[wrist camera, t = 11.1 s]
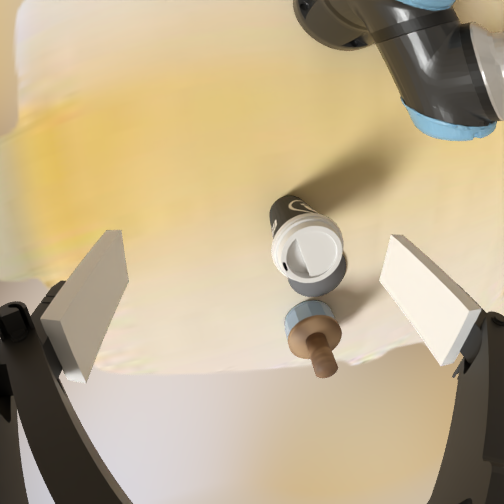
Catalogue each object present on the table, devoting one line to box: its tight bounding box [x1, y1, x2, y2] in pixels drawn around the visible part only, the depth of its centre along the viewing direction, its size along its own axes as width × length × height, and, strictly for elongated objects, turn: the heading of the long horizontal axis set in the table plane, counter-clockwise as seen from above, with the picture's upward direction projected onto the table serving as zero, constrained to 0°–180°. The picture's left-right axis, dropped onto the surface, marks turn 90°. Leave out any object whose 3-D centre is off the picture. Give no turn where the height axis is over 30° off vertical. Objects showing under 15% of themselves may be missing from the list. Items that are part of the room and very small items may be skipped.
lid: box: [288, 315, 342, 378], centre depth 52 cm, size 10×10×9 cm
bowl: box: [285, 300, 336, 340], centre depth 59 cm, size 10×10×5 cm
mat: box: [288, 254, 346, 297], centre depth 56 cm, size 11×11×1 cm
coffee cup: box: [270, 196, 343, 283], centre depth 44 cm, size 10×10×15 cm
